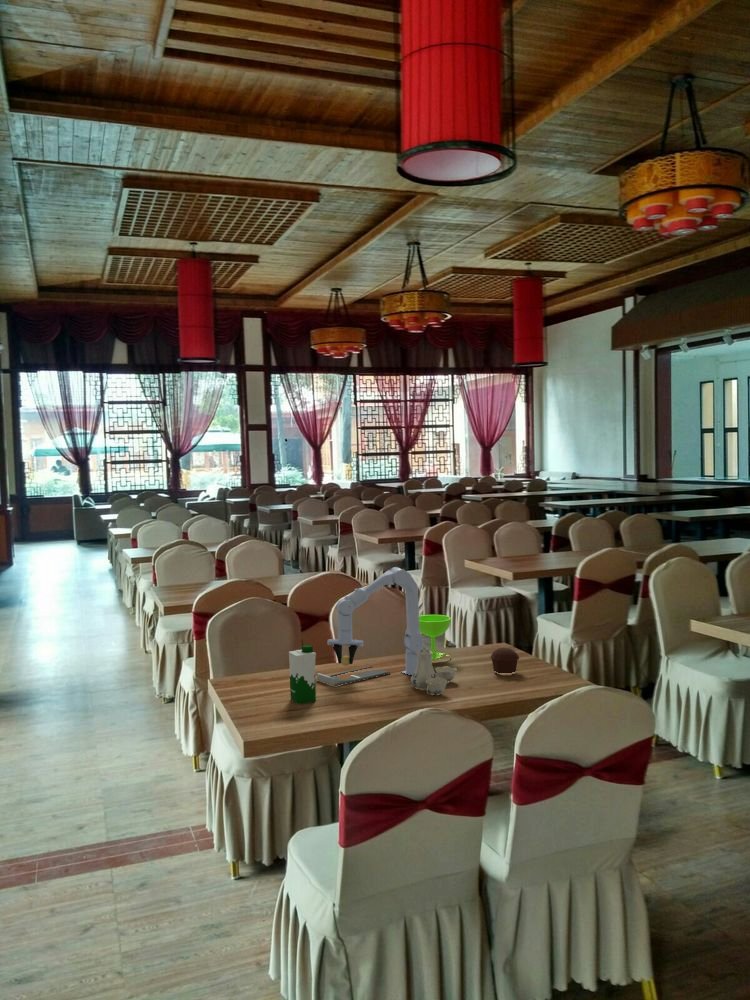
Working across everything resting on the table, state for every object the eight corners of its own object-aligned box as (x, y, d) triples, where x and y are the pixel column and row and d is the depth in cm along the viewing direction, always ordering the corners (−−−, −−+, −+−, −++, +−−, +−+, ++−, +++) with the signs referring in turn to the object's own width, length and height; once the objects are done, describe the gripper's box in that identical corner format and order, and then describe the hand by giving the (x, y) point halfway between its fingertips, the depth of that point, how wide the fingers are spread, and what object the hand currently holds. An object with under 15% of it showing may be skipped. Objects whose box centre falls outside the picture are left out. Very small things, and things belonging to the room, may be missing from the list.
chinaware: (448, 703, 296) (452, 659, 294) (403, 697, 299) (407, 652, 298) (456, 682, 323) (460, 641, 322) (415, 676, 326) (419, 636, 325)
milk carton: (319, 701, 295) (318, 647, 294) (296, 705, 291) (294, 650, 290) (309, 695, 303) (308, 642, 302) (287, 699, 299) (285, 645, 298)
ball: (352, 664, 325) (352, 655, 325) (346, 667, 322) (346, 657, 322) (344, 663, 327) (344, 653, 327) (338, 665, 324) (338, 656, 324)
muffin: (484, 673, 330) (484, 648, 330) (502, 668, 338) (501, 644, 337) (508, 678, 322) (507, 653, 321) (525, 673, 329) (525, 648, 329)
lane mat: (390, 674, 332) (389, 666, 331) (335, 687, 314) (334, 679, 314) (371, 668, 341) (371, 661, 341) (317, 681, 323) (316, 673, 323)
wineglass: (409, 656, 360) (409, 616, 360) (443, 653, 365) (442, 613, 364) (422, 665, 345) (422, 623, 344) (457, 661, 350) (456, 620, 349)
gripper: (365, 628, 326) (365, 661, 326) (331, 626, 330) (331, 659, 330) (360, 631, 319) (361, 666, 320) (325, 630, 323) (326, 664, 323)
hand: (345, 663), depth 324 cm, fingers closed on ball, 4 cm apart
